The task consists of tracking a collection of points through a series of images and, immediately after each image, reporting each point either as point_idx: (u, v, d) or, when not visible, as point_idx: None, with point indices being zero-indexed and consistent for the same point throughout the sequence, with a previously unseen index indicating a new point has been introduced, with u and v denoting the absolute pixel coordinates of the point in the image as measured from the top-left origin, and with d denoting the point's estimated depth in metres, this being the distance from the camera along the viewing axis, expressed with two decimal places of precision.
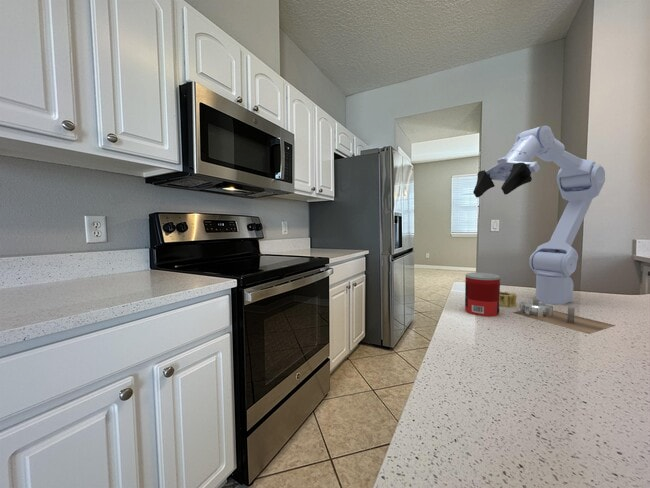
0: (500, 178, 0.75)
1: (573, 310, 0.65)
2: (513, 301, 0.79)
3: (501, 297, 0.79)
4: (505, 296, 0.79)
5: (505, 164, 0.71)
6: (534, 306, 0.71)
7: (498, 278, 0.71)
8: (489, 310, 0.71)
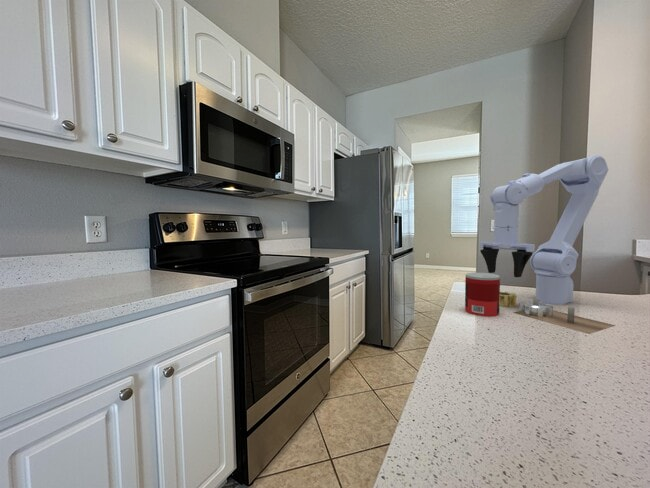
0: None
1: (573, 310, 0.65)
2: (513, 301, 0.79)
3: (501, 297, 0.79)
4: (505, 296, 0.79)
5: None
6: (534, 306, 0.71)
7: (498, 278, 0.71)
8: (489, 310, 0.71)
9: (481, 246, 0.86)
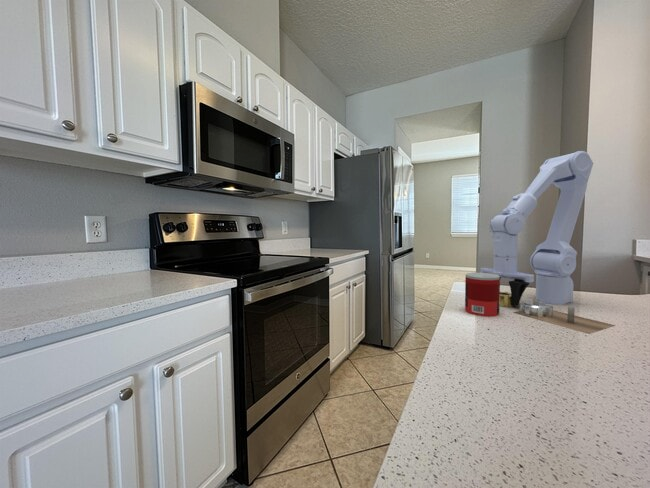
0: None
1: (573, 310, 0.65)
2: None
3: (501, 297, 0.79)
4: (505, 296, 0.79)
5: (501, 275, 0.79)
6: (534, 306, 0.71)
7: (498, 278, 0.71)
8: (489, 310, 0.71)
9: None
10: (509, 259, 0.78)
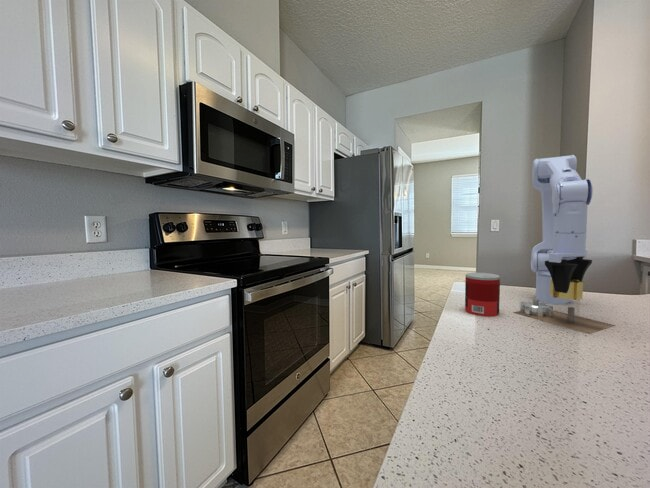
0: None
1: (573, 310, 0.65)
2: None
3: (550, 281, 0.68)
4: None
5: None
6: (534, 306, 0.71)
7: (498, 278, 0.71)
8: (489, 310, 0.71)
9: None
10: (556, 235, 0.65)
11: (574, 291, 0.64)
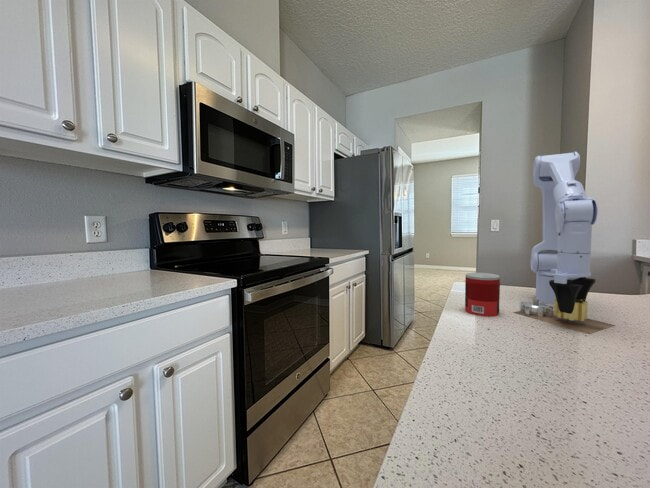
0: None
1: None
2: None
3: (554, 300, 0.67)
4: None
5: None
6: (534, 306, 0.71)
7: (498, 278, 0.71)
8: (489, 310, 0.71)
9: None
10: (560, 255, 0.65)
11: (579, 311, 0.63)
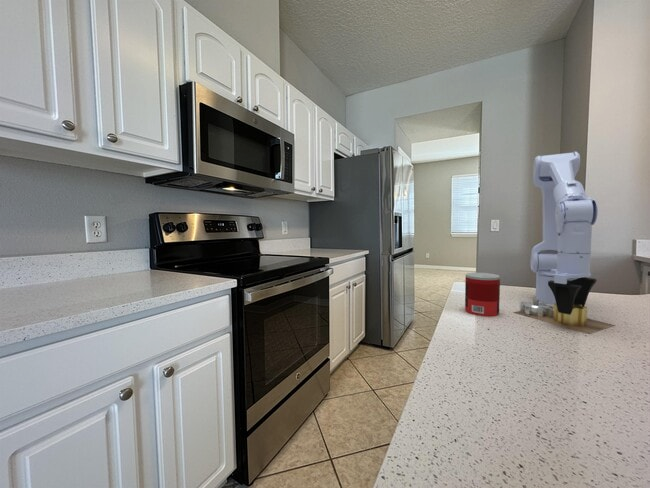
0: None
1: None
2: (568, 315, 0.64)
3: (554, 305, 0.67)
4: None
5: None
6: (534, 306, 0.71)
7: (498, 278, 0.71)
8: (489, 310, 0.71)
9: None
10: (560, 255, 0.65)
11: (579, 317, 0.63)
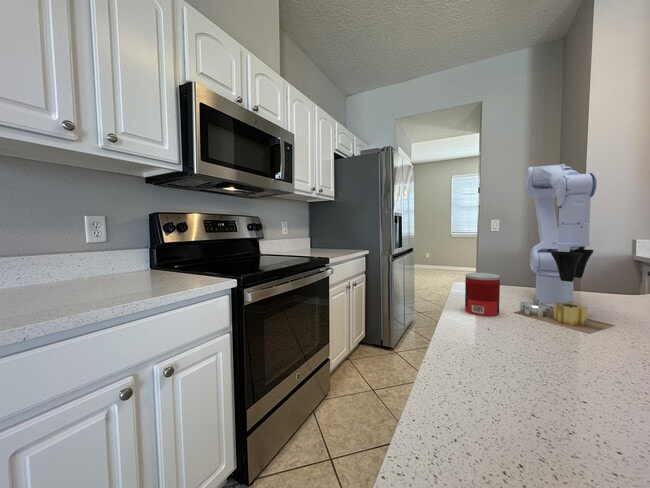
0: None
1: None
2: (568, 315, 0.64)
3: (554, 305, 0.67)
4: (559, 306, 0.66)
5: None
6: (534, 306, 0.71)
7: (498, 278, 0.71)
8: (489, 310, 0.71)
9: None
10: (562, 226, 0.68)
11: (579, 317, 0.63)
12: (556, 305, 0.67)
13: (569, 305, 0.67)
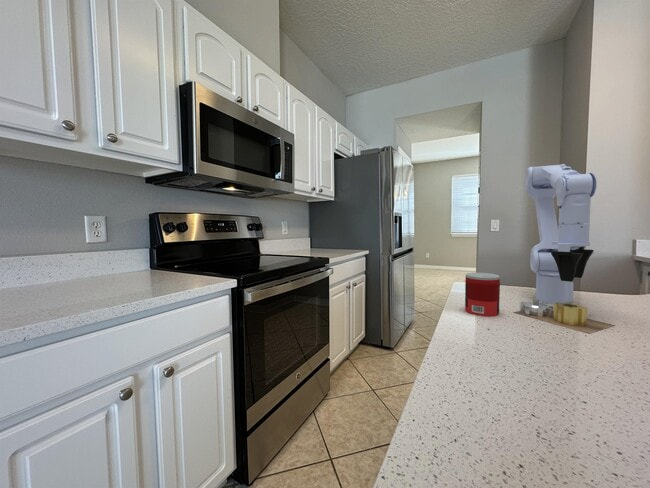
0: None
1: None
2: (568, 315, 0.64)
3: (554, 305, 0.67)
4: (559, 306, 0.66)
5: None
6: (534, 306, 0.71)
7: (498, 278, 0.71)
8: (489, 310, 0.71)
9: None
10: (562, 226, 0.68)
11: (579, 317, 0.63)
12: (556, 305, 0.67)
13: (569, 305, 0.67)
